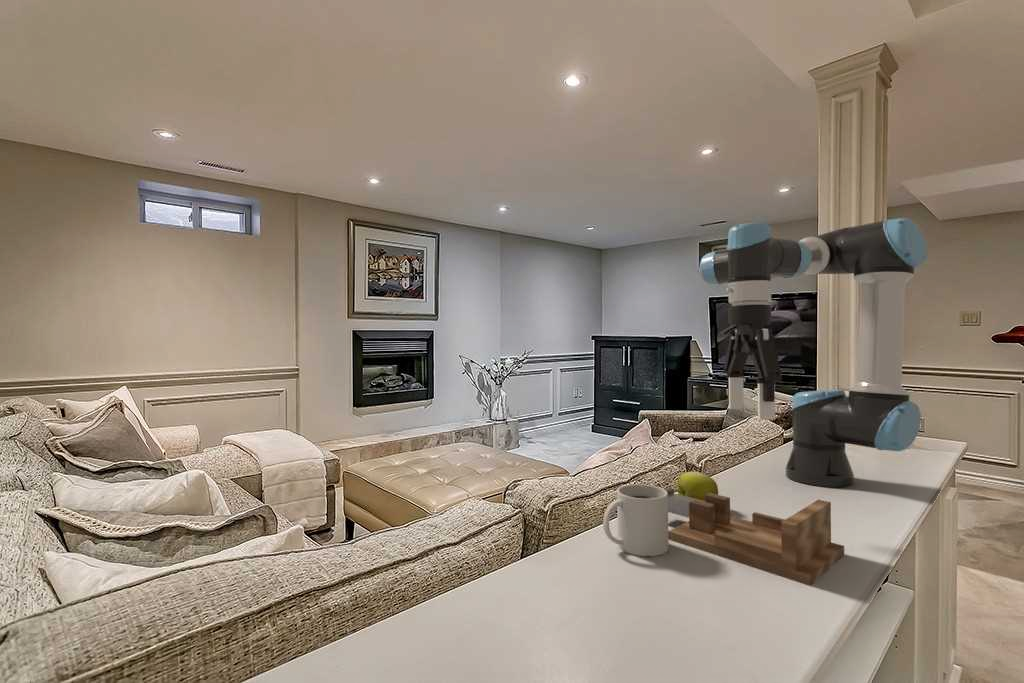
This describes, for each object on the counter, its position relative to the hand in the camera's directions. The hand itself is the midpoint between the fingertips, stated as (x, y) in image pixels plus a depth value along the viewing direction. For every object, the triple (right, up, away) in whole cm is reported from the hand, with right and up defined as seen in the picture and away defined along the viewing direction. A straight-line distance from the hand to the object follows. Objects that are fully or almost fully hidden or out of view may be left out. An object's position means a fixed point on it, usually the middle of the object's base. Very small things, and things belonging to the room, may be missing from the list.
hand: (750, 414), depth 98 cm
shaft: (-12, -21, +2) cm, 24 cm away
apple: (-6, -23, +12) cm, 26 cm away
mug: (-24, -23, -7) cm, 34 cm away
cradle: (-3, -23, -8) cm, 24 cm away
